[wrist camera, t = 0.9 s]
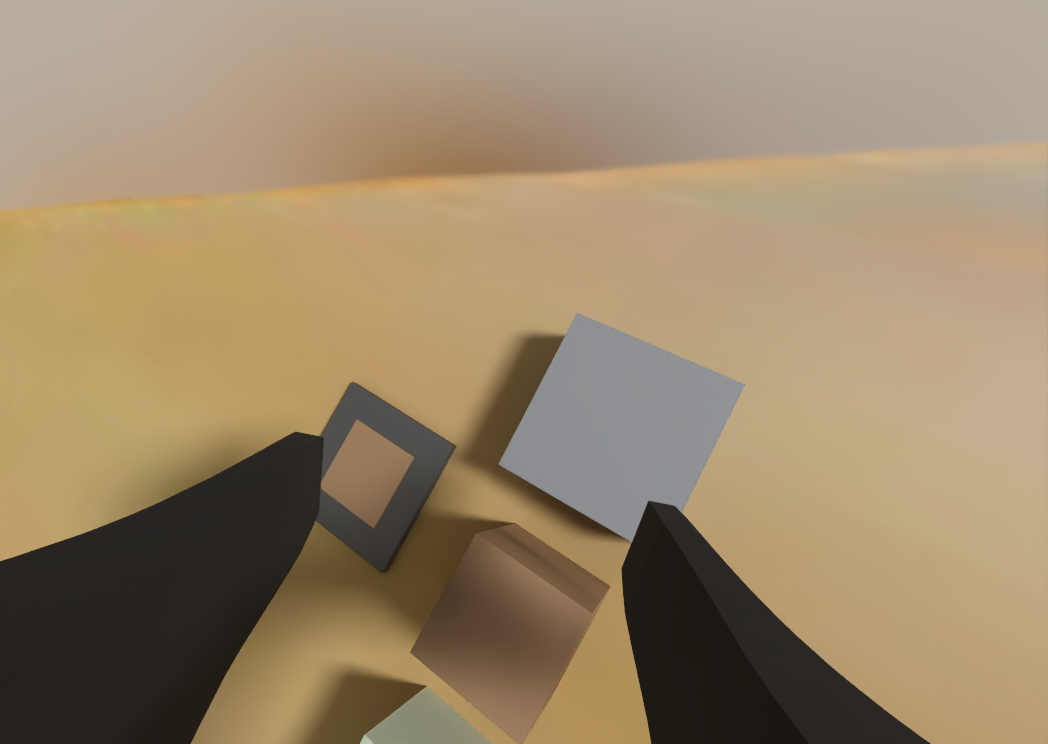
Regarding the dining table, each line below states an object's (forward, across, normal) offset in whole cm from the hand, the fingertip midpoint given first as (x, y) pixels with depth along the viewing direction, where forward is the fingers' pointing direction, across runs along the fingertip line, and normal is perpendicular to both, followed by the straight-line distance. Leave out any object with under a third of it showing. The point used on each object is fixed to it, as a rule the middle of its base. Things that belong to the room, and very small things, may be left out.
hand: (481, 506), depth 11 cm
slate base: (+11, -6, +4) cm, 13 cm away
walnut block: (+8, -4, +11) cm, 14 cm away
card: (+13, +5, +10) cm, 17 cm away
